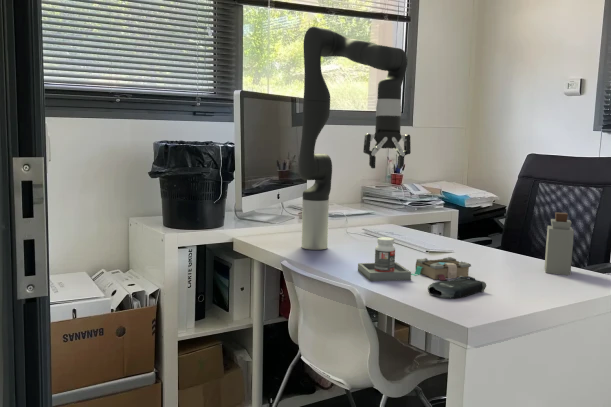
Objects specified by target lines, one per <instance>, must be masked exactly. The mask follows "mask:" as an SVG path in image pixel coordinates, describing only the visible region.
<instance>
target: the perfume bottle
mask: <svg viewBox="0 0 611 407" xmlns="http://www.w3.org/2000/svg"><path fill="white" fill-rule="evenodd" d="M554 214H555V216H554V217H555V218H550V222H551V225H547V229H546V231H547V232H546V240H545V241H546V242H545V255H544V257H545V258H544V271H545V274H552V275H563V276H571V274H572V273H571V272H572V259H573V246H574V237H575V236H574V234H575V233H574V232H575V230H574V229H573V227H572V224H573V223H572V221H571V220H570V219H568V217H569V216H568V215H569V214H568V212H556V211H555V212H554Z"/></svg>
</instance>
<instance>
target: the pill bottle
mask: <svg viewBox="0 0 611 407" xmlns="http://www.w3.org/2000/svg"><path fill="white" fill-rule="evenodd" d="M394 239H395V238H393V237H387V236H386V237H385V236H382V237H378V238H377V240H376V241H377V245H376V246H375V249H374V252H375V254H374V263H375V272H394V268H395V262H396V261H395V259H396V247H395V246H393V244H394V243H395V240H394Z"/></svg>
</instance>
